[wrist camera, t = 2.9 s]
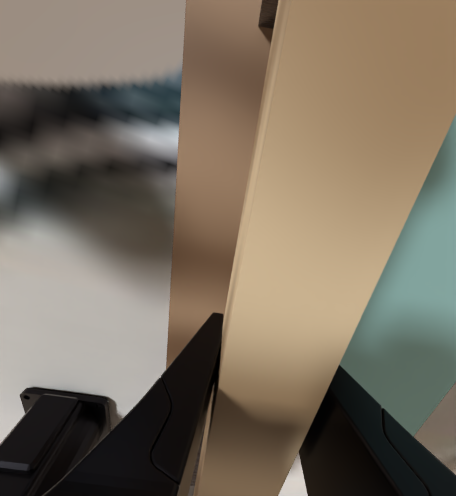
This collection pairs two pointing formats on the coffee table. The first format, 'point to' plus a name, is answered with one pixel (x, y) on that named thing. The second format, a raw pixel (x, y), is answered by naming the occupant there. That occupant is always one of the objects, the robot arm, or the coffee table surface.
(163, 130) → the coffee table surface
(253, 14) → the walnut board
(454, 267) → the teal mat
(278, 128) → the oak rail
